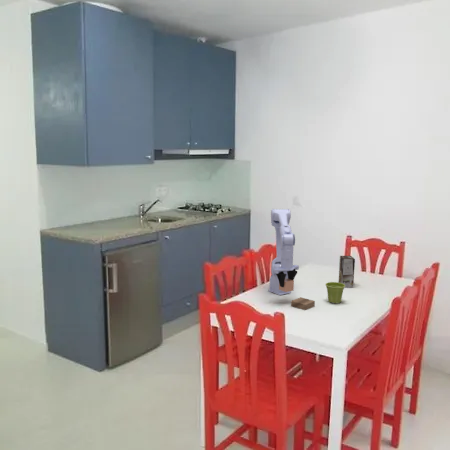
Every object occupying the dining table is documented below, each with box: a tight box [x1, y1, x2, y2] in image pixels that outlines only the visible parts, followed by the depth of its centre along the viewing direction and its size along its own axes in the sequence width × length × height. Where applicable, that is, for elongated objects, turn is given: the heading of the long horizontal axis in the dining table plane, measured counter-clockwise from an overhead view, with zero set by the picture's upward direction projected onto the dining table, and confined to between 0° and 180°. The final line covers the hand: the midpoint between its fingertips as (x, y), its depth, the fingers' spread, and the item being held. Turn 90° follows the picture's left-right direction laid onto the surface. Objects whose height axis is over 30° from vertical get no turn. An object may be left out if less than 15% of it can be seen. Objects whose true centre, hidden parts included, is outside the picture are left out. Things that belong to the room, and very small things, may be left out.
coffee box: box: [338, 255, 356, 289], centre depth 253 cm, size 9×6×16 cm
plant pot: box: [325, 281, 345, 304], centre depth 226 cm, size 9×9×9 cm
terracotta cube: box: [279, 278, 295, 292], centre depth 223 cm, size 5×5×5 cm
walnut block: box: [290, 296, 316, 311], centre depth 219 cm, size 8×8×3 cm
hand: (286, 285), depth 223 cm, fingers closed on terracotta cube, 5 cm apart
